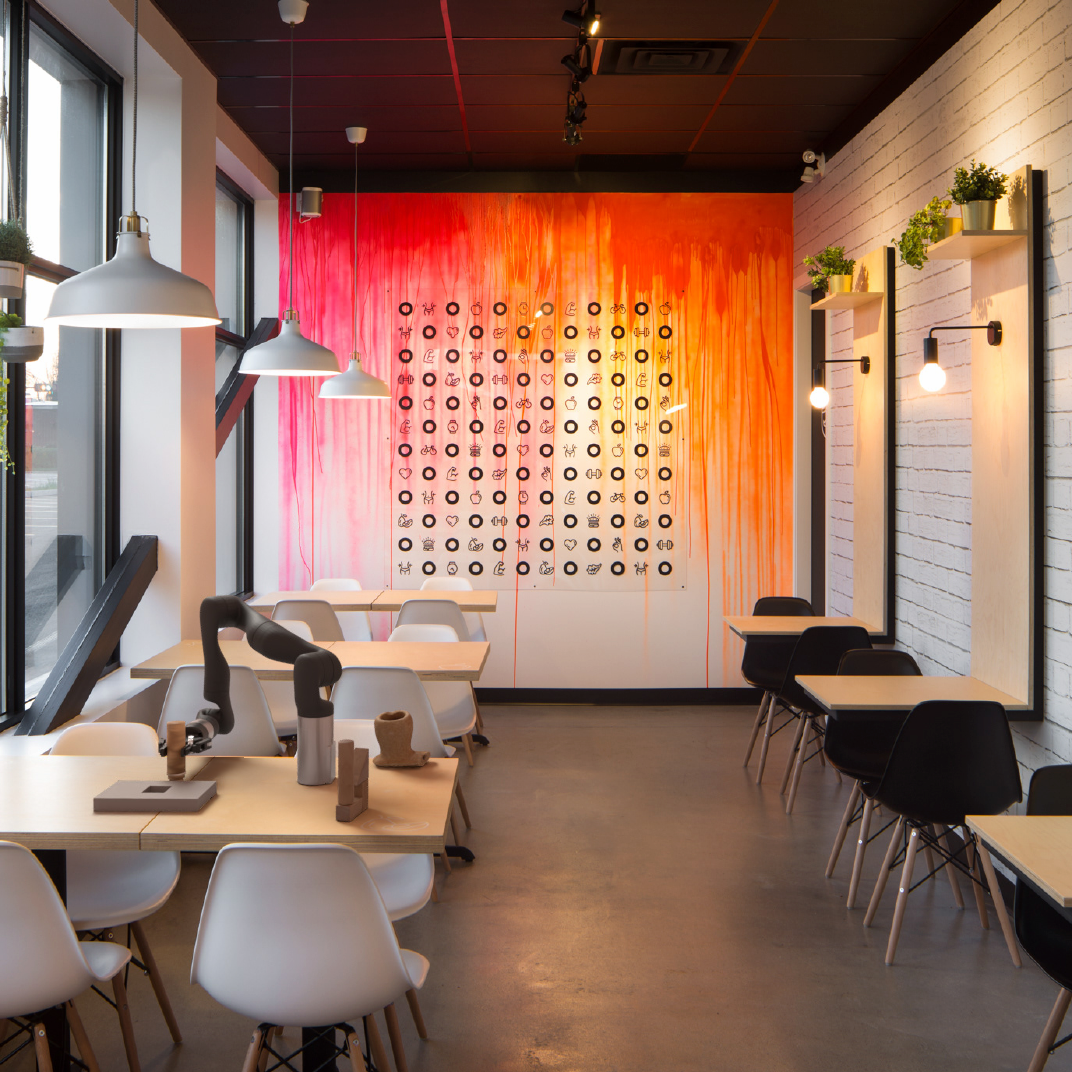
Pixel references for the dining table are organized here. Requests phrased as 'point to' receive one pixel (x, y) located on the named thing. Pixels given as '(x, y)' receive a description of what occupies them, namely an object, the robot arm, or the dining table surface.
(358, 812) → the wooden block
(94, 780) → the dining table surface
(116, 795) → the grayish brown board
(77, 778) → the dining table surface
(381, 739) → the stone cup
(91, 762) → the dining table surface
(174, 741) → the oak peg
